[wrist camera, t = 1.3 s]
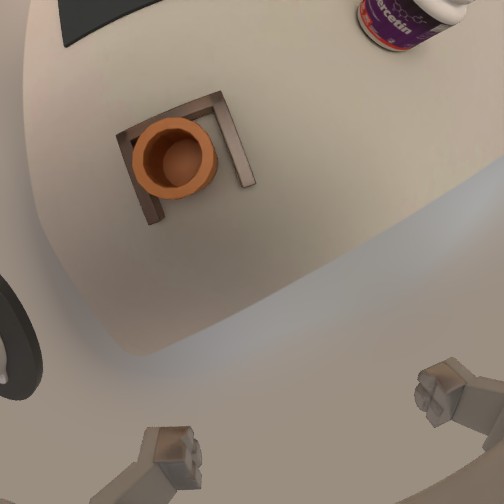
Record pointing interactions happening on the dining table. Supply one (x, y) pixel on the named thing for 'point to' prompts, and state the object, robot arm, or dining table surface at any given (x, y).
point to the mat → (93, 15)
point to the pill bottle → (408, 20)
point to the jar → (174, 158)
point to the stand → (190, 112)
